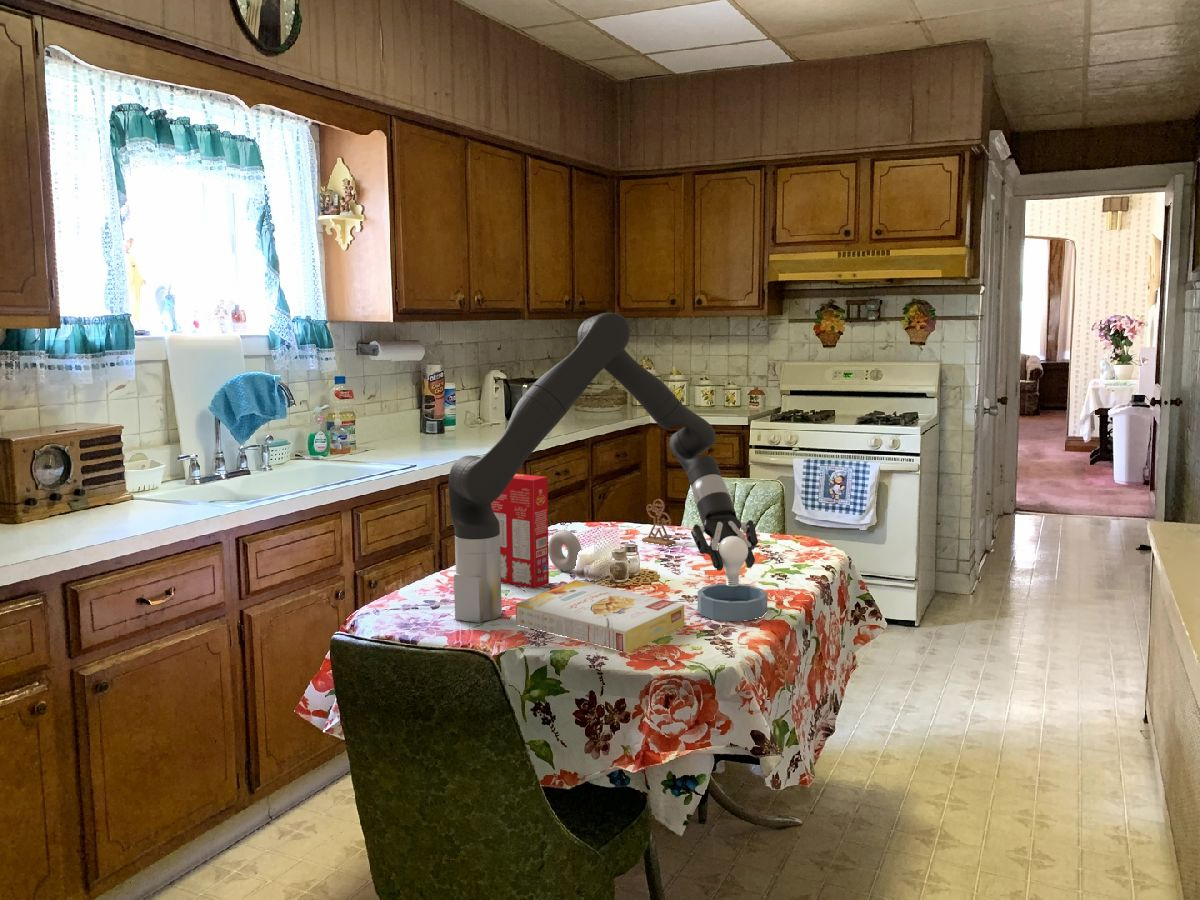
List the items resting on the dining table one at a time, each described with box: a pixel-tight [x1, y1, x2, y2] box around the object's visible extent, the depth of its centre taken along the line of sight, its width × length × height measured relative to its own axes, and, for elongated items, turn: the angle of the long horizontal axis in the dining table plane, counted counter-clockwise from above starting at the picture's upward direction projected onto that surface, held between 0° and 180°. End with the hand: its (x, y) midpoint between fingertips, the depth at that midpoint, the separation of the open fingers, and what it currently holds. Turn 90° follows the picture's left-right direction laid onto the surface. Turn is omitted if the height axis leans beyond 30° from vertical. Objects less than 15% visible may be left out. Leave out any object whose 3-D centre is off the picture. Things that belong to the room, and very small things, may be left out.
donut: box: [548, 530, 582, 572], centre depth 244 cm, size 10×3×10 cm, turn 48°
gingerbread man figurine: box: [641, 498, 677, 547], centre depth 271 cm, size 9×4×12 cm, turn 48°
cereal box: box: [515, 579, 685, 653], centre depth 202 cm, size 20×6×28 cm
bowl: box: [696, 583, 769, 622], centre depth 211 cm, size 14×14×4 cm
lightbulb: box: [717, 536, 748, 588], centre depth 210 cm, size 6×6×11 cm
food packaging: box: [491, 473, 550, 589], centre depth 233 cm, size 15×5×25 cm, turn 57°
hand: (736, 567), depth 208 cm, fingers closed on lightbulb, 6 cm apart
